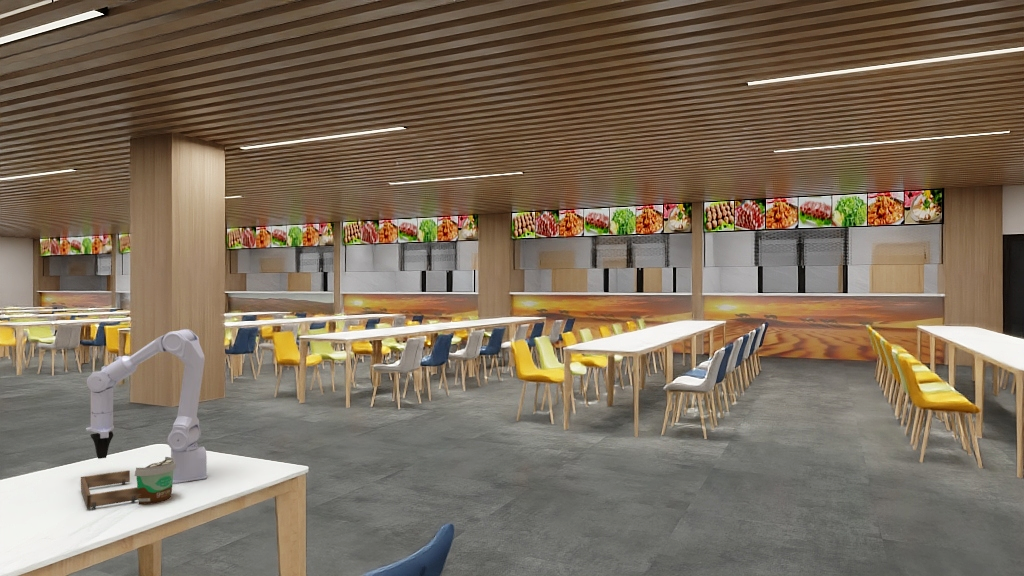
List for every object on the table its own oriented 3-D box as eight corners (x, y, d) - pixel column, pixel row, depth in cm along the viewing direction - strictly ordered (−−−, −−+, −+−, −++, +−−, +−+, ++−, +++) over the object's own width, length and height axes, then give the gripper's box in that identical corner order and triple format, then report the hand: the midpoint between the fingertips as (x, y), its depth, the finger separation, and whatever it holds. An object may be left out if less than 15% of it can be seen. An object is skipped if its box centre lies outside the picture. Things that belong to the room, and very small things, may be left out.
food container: (155, 508, 182) (155, 469, 182) (134, 506, 184) (134, 468, 183) (186, 493, 194) (186, 457, 194) (166, 491, 196) (166, 456, 196)
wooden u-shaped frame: (129, 482, 204) (129, 469, 203) (140, 502, 187) (140, 488, 187) (80, 489, 197) (80, 476, 196) (87, 510, 180) (87, 496, 180)
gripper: (83, 409, 210) (83, 454, 210) (88, 417, 198) (88, 465, 198) (110, 406, 214) (110, 451, 214) (116, 414, 202) (116, 461, 202)
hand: (101, 457), depth 206 cm, fingers closed
